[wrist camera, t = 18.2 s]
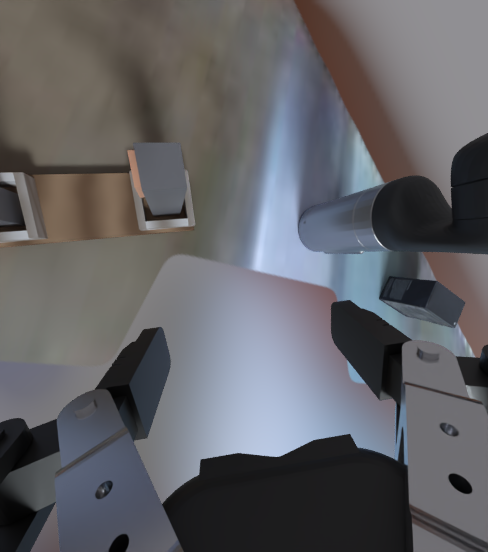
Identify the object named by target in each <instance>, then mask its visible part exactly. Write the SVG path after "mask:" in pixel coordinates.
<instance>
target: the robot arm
mask: <svg viewBox="0 0 488 552" xmlns="http://www.w3.org/2000/svg"><path fill="white" fill-rule="evenodd" d="M451 187H453V188H451V200H452V208H451V207H450V206H449V205H448V203H447V202H446V200H445V198H444V196H443V195H442V193H441V191H440V190H439V188H438V187H437V186H436V185H435V184H434V183H433V182H432V181H431V180H429V179H428V178H425V177H422V176H408V177H403V178H400V179H397V180H394V181H391V182H388V183H385V184H382V185H379V186H375V187H373V188H369V189H366V190H363V191H360V192H357V193H354V194H351V195H348V196H344V197H341V198H338V199H335V200H332V201H329V202H326V203H322V204H319V205H316V206H313V207H311V208H309V209H308V210H306V211H305V212H304V214H303V215H302V217H301V219H300V222H299V236H300V239H301V241H302V243H303V244H304V245H305V247H307V248H308V249H309V250H312V251H315V252H324V253H326V254H362V253H363V252H375V251H411V252H454V253H473V254H488V133H487V134H485V135H483V136H481V137H479V138H477V139H475V140H474V141H471V142H470V143H468V144H467V145H466V146H464V147H463V148H461V149H460V150H459V151H458V152H457V154H456V155H455V156H454V158H453V162H452V167H451ZM331 334H332V338H333V341H334V343H335V345H336V346H337V347H338V349H339V350H340V351H341V353H342V354H343V355H344V356H345V358H346V359H347V360H348V361H349V363H350V364H351V365H352V366H353V368H354V369H355V370H356V371H357V373H358V374H359V375H360V376H361V378H362V379H363V380H364V381H365V383H366V384H367V385H368V386H369V388H370V389H371V390H372V391H373V393H374V394H375V395H376V396H377V398H378V399H379V400H386V399H392V398H393V399H394V400H395V401H396V407H395V453H394V454H395V455H394V459H393V458H391V457H388V456H386V455H384V454H381V453H378V452H375V451H372V450H368V449H363V448H357V446H356V444H355V442H354V441H353V439H352V437H351V435H350V434H347V435H342V436H335V437H329V438H324V439H318V440H313V441H311V442H309V443H307V444H305V445H303V446H301V447H299V448H297V449H295V450H293V451H291V452H289V453H287V454H285V455H283V456H280V457H269V456H260V455H251V454H241V453H237V454H231V455H225V456H219V457H213V458H207V459H202V460H201V462H200V473H199V475H198V476H196V477H194V478H192V479H191V480H189V481H187V482H186V483H184V485H182V486H181V487H179V488H178V489H177V490H175V491H174V492H173V493H172V494H171V495H170V496H169V497H168V498H167V499H166V500H165V501H164V503H163V504H162V503H161V501H160V499H159V497H158V495H157V493H156V490H155V488H154V486H153V484H152V481H151V479H150V477H149V475H148V473H147V470H146V468H145V466H144V464H143V462H142V460H141V457H140V455H139V453H138V451H137V449H136V446H135V445H134V440H139V439H145V438H147V437H148V434H149V431H150V428H151V425H152V422H153V419H154V416H155V413H156V410H157V407H158V404H159V401H160V398H161V395H162V391H163V389H164V386H165V383H166V380H167V376H168V373H169V370H170V355H169V350H168V346H167V342H166V338H165V335H164V331H163V329H162V328H161V327H157V328H150V329H144V330H143V331H142V332H141V334H140V336H139V337H138V339H137V340H136V341H135V342H132V343H130V344H129V345H128V346H127V347H125V348H124V349H123V350H122V351H121V353H120V354H119V356H118V357H117V360H115V361H114V363H113V364H112V367H110V368H109V370H108V371H107V373H106V374H105V376H104V377H103V378H102V380H101V381H100V383H99V384H98V386H97V387H96V388H95V390H92V391H89V392H86V393H85V394H82V395H80V396H78V397H77V398H75V399H74V400H72V401H71V402H70V403H69V404H67V405H66V406H65V407H64V408H63V410H62V411H61V412H60V414H59V415H58V418H57V419H55V420H53V421H50V422H48V423H45V424H42V425H40V426H37V427H34V428H32V429H29V428H28V426H27V424H26V422H25V421H24V420H23V419H21V418H15V419H10V420H6V421H3V422H1V423H0V552H30V551H31V549H32V547H33V545H34V543H35V541H36V539H37V537H38V535H39V533H40V532H41V530H42V528H43V526H44V524H45V522H46V520H47V518H48V516H49V514H50V512H51V511H52V509H53V507H54V505H55V503H56V507H57V520H58V533H59V534H58V535H59V547H60V552H488V345H486V346H484V347H483V349H482V353H481V357H480V358H474V357H457V356H455V355H454V354H453V353H452V352H451V351H450V350H448V349H447V348H445V347H443V346H441V345H438V344H435V343H432V342H428V341H421V340H411V339H410V338H408V337H407V336H406V335H404V334H403V333H401V332H400V331H399V330H397V329H396V328H394V327H393V326H392V325H389V323H387V322H386V321H385V320H382V318H381V317H379V316H378V315H376V314H375V313H373V312H370V311H368V310H365V309H361V308H360V307H358V306H357V305H356V304H354V303H353V302H352V301H350V300H346V301H339V302H334V303H332V305H331Z"/></svg>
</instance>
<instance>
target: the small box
mask: <svg viewBox="0 0 488 552" xmlns="http://www.w3.org/2000/svg"><path fill="white" fill-rule="evenodd" d="M379 299H380V300H381V301H383V302H384V303H386V304H387V305H389V306H391V307H392V308H394V309H395V310H397V311H398V312H400V313H402V314H403V315H405V316H407V317H412V318H416V319H420V320H424V321H428V322H432V323H436V324H440V325H444V326H447V327H451V328H455V327H456V325H457V322H458V319H459V317H460V315H461V312H462V310H463V307H464V305H465V302H464V301H463V300H462V299H460V298H459V297H458V296H456V295H455V294H453V293H452V292H451V291H450V290H448V289H447V288H446V287H444V286H443V285H442V284H441V283H439V282H438V281H431V280H420V279H410V278H400V277H389V279H388V281H387V283H386V285H385V287H384V289H383V291H382V294H381V296H380V298H379Z"/></svg>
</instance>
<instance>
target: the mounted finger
mask: <svg viewBox="0 0 488 552" xmlns="http://www.w3.org/2000/svg"><path fill="white" fill-rule="evenodd" d="M24 225H25V221H24V216H23V212H22V208H21V204H20V200H19V196H18V194H17V193H14V192H11V191H9V190H6V189H4V188H1V187H0V227H10V226H24Z"/></svg>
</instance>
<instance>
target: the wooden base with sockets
mask: <svg viewBox="0 0 488 552" xmlns="http://www.w3.org/2000/svg"><path fill="white" fill-rule="evenodd" d="M185 177H186V183H187V191H186V194H185V198H184V202H183V205H182V209H181V213H180V215H169V216H158V217H153V214H152V212H151V210H150V208H149V205H148V203H147V201H146V199H145V197H143V198H140V197H139V195H138V193H137V191H136V189H135V187H134V182H133V177H132V172H131V171H129V173H102V174H42V175H27V174H25V173H23V172H12V173H0V187H1V188H4V189H6V190H9V191H11V192H14V193H17V194H18V196H19V200H20V204H21V208H22V212H23V216H24V221H25V225H24V226H10V227H0V248H2V247H13V246H24V245H35V244H46V243H57V242H68V241H79V240H90V239H101V238H112V237H123V236H134V235H145V234H156V233H167V232H178V231H189V230H194V225H195V219H194V212H193V205H192V198H191V191H190V184H189V177H188V170H185Z"/></svg>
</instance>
